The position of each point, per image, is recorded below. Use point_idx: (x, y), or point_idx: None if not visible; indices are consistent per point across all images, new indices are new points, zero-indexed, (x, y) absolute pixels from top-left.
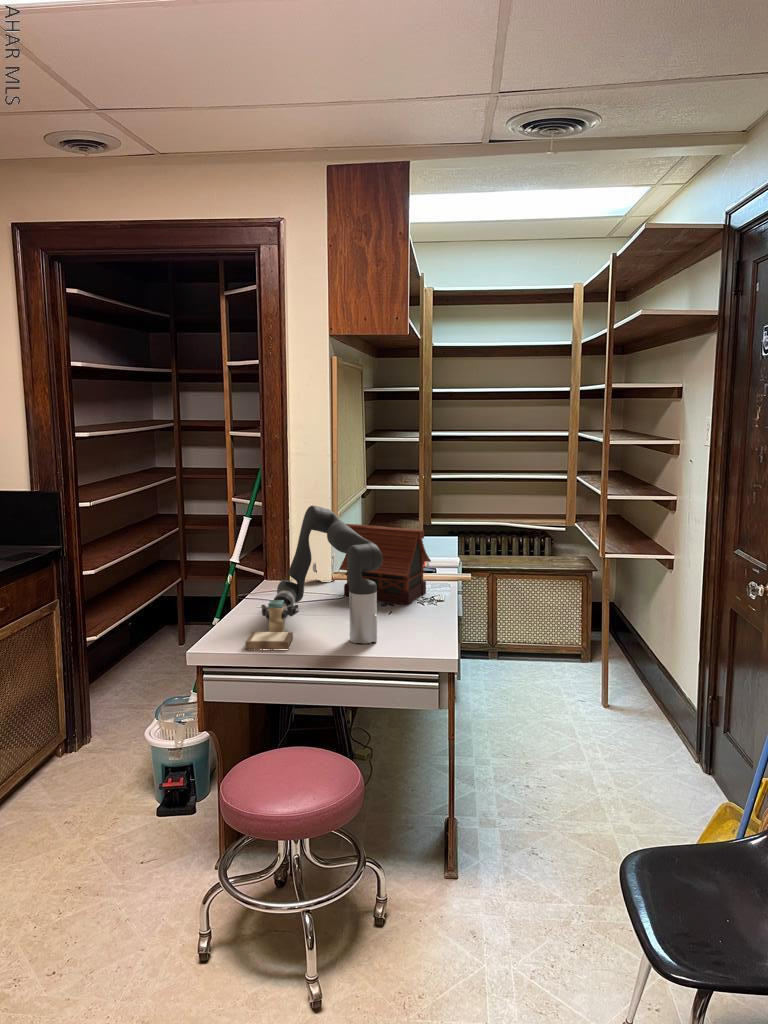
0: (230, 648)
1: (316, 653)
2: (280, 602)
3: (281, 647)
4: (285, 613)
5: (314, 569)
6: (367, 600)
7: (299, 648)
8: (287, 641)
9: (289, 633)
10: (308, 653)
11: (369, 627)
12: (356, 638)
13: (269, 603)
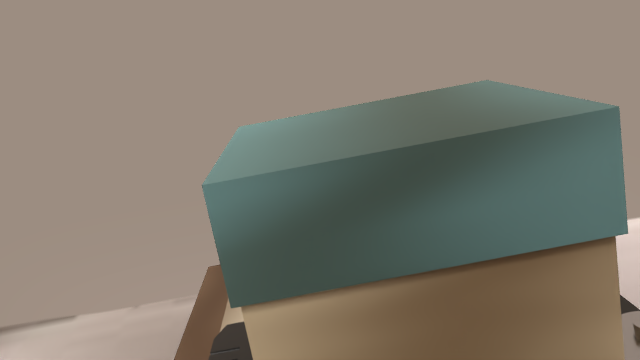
0: (630, 256)
1: (49, 332)
2: (273, 132)
3: None
4: (221, 344)
5: None
6: None
7: (144, 354)
8: (213, 269)
9: (201, 354)
10: (98, 323)
11: None
12: None
13: (473, 85)
